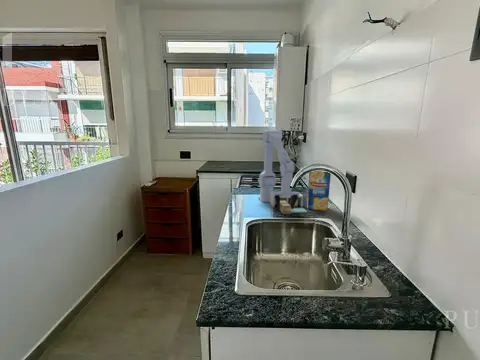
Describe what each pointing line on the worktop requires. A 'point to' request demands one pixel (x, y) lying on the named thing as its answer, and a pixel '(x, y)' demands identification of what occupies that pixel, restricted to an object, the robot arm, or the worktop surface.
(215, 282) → the worktop surface
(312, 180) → the beverage box
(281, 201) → the beech bar
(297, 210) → the teal mat
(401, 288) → the worktop surface
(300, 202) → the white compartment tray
